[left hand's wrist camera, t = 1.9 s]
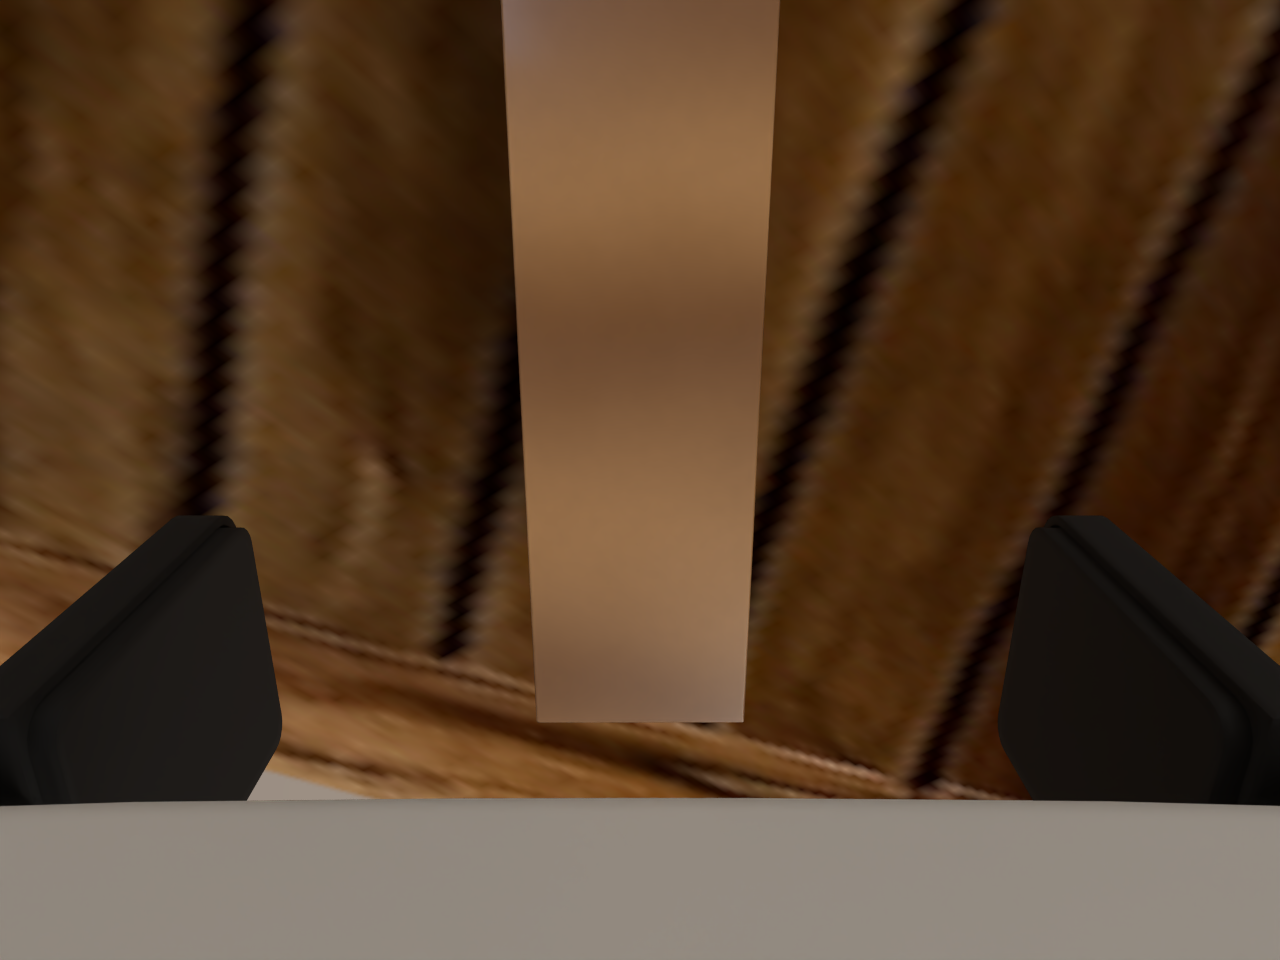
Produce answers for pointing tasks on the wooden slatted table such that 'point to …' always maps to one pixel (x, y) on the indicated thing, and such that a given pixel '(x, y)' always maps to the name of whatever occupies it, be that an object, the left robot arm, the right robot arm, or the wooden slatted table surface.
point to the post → (640, 343)
